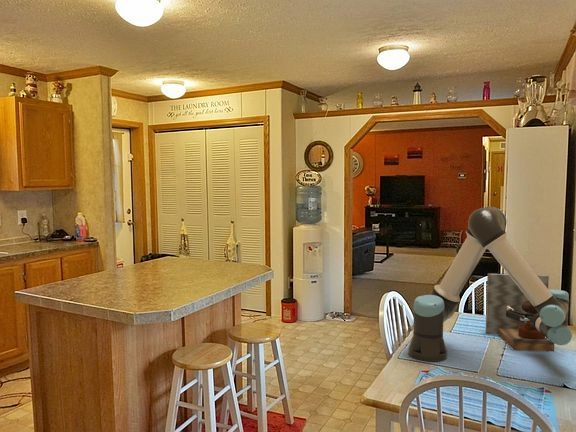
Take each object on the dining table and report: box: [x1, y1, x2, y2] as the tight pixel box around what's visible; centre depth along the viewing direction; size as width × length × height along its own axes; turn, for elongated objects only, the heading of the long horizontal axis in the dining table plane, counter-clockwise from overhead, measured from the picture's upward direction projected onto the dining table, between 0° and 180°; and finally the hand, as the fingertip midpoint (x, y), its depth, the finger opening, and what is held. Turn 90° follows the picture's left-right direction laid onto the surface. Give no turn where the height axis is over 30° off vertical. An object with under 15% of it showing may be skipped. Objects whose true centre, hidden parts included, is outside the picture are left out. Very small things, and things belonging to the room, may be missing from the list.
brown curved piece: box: [518, 298, 546, 339], centre depth 204 cm, size 15×11×20 cm
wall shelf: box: [485, 273, 555, 352], centre depth 205 cm, size 26×22×28 cm
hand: (523, 309), depth 207 cm, fingers open, 13 cm apart
